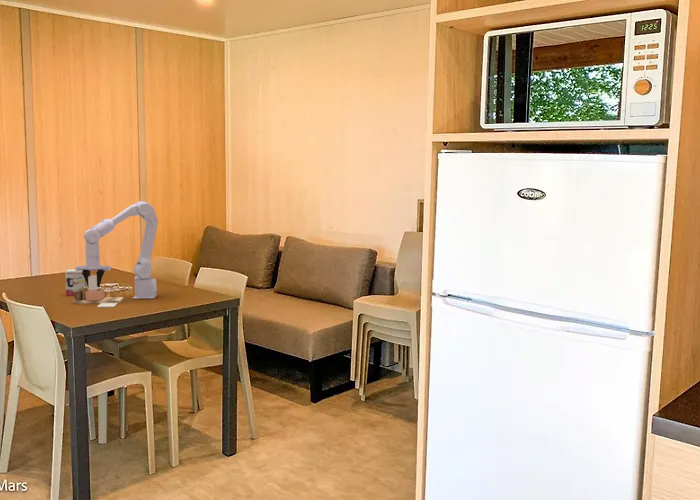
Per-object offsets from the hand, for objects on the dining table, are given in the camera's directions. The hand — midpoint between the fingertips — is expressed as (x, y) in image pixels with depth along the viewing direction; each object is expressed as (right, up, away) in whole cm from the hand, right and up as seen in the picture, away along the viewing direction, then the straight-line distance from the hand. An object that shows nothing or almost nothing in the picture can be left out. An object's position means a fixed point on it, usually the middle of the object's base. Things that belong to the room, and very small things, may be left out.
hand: (93, 286), depth 293 cm
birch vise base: (+2, -7, +1) cm, 7 cm away
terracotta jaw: (0, -5, +1) cm, 6 cm away
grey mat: (+9, -8, -7) cm, 14 cm away
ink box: (-14, -5, +15) cm, 21 cm away
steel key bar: (0, -4, 0) cm, 4 cm away
